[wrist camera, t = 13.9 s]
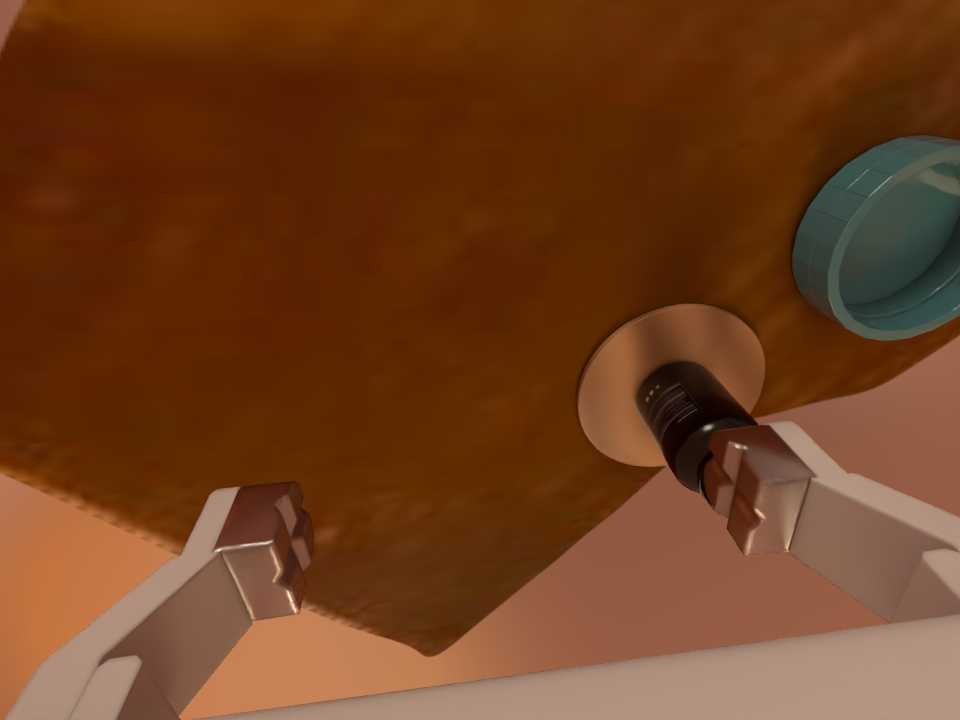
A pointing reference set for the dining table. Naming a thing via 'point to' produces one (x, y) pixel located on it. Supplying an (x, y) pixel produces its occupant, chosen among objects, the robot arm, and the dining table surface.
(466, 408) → the dining table surface
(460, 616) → the dining table surface
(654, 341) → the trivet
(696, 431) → the supplement bottle
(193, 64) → the dining table surface
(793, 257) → the pan
